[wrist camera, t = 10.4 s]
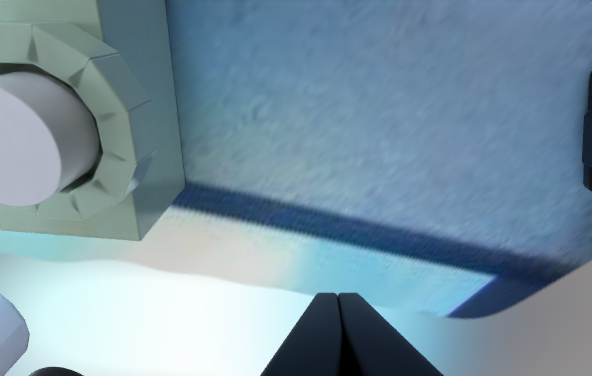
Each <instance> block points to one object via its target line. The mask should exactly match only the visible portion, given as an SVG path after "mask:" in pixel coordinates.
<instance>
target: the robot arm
mask: <svg viewBox="0 0 592 376" xmlns="http://www.w3.org/2000/svg"><path fill="white" fill-rule="evenodd" d="M582 162H583V163H584V180H583V183H584V186H585V187H586V188H587V189H589V190H590V191H592V71H591V74H590V79H589V96H588V112H587V113H586V115H585V116H584V132H583V150H582ZM260 376H444V375H443V374H441V373H440V372H439V371H438V370H437V369H436V368H435V367H434V366H433V365H432V364H431V363H430V362H429V361H428V360H427V359H426V358H425V357H424V356H423V355H422V354H421V353H420V352H418V350H416V349H415V348H414V347H413V346H412V345H411V344H410V343H409V342H408V341H407V340H406V339H405V338H404V337H403V336H402V335H401V334H400V333H399V332H397V330H396V329H395V328H394V327H392V326H391V325H390V324H389V323H388V322H387V321H386V320H385V319H384V318H383V317H382V316H381V315H380V314H379V313H378V312H377V311H376V310H375V309H374V308H373V307H372V306H371V305H370V304H369V303H368V302H366V301H365V300H364V299H363V298H362V297H361V296H360V295H359V294H357V293H339V294H338V297H337V294H335V293H318V294H317V295H316V296H315V297H314V299H313V300H312V302H311V303H310V305H309V306H308V307H307V309H306V310H305V312H304V313H303V315H302V316H301V317H300V319H299V320H298V322H297V323H296V325H295V326H294V328H293V329H292V330H291V332H290V333H289V335H288V336H287V338H286V339H285V340H284V342H283V343H282V345H281V346H280V348H279V349H278V351H277V352H276V353H275V355H274V356H273V358H272V359H271V361H270V362H269V364H268V365H267V367H266V368H265V370H264V371H263V372H262V374H261V375H260Z"/></svg>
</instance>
